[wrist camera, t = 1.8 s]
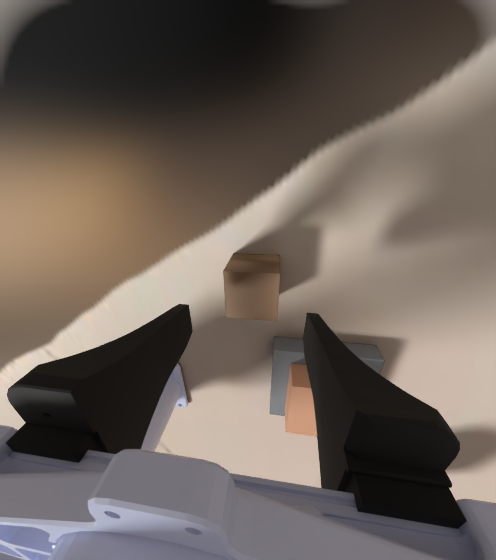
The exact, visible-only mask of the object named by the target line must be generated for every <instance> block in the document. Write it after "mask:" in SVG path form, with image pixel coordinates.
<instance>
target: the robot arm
mask: <svg viewBox="0 0 496 560" xmlns="http://www.w3.org/2000/svg"><path fill="white" fill-rule="evenodd" d="M192 331H193V330H192V324H191V317H190V311H189V305H185V304H179V305H177V306H175V307H173V308H172V309H170V310H168V311H167V312H165V313H164V314H162V315H160V316H159V317H157V318H155V319H154V320H152V321H150V322H149V323H147V324H145V325H143V326H142V327H140V328H138V329H136V330H135V331H133V332H131V333H129V334H127V335H125V336H122V337H120V338H118V339H116V340H114V341H111V342H109V343H106V344H104V345H101V346H99V347H96V348H94V349H91V350H88V351H85V352H82V353H79V354H76V355H73V356H69V357H66V358H62V359H59V360H55V361H51V362H48V363H44V364H40V365H38V366H36V367H35V368H34V369H33V370H31V371H30V372H29V373H28V374H26V375H25V376H24V377H23V378H21V379H20V380H19V381H17V382H16V383H15V384H14V385H12V386H11V387H10V388H9V389H8V393H7V397H8V400H9V402H10V403H11V405H12V406H13V407H14V409H15V410H16V411H17V412H18V414H19V415H20V416H21V417H22V419H23V420H24V421H25V422H26V423H25V424H24V425H23V426H22V427H21V428H20V429H19V430H17V429H15V428H13V427H9V426H3V425H0V560H496V503H491V502H485V501H478V500H472V499H461V500H457V501H456V500H455V499H454V497H453V495H452V493H451V491H450V489H449V488H451V487H452V483H451V481H450V479H449V477H448V475H447V474H446V472H445V470H446V468H447V467H448V466H449V465H450V464H451V462H452V461H453V460H454V459H455V458H456V456H457V454H458V452H459V450H460V443H459V441H458V439H457V438H456V436H455V435H454V433H453V432H452V430H451V429H450V427H449V426H448V424H447V423H446V421H445V420H444V419H443V417H442V416H441V414H440V413H439V412H438V411H437V410H436V409H434V408H433V407H431V406H429V405H427V404H426V403H424V402H422V401H420V400H419V399H417V398H415V397H413V396H412V395H410V394H408V393H407V392H405V391H403V390H402V389H400V388H399V387H397V386H396V385H394V384H393V383H391V382H390V381H388V380H387V379H385V378H384V377H382V376H381V375H380V374H378V373H377V372H376V371H374V370H373V369H372V368H370V367H369V366H368V365H367V364H365V363H364V362H363V361H362V360H361V359H359V358H358V357H357V356H356V355H355V354H354V353H353V352H352V351H350V350H349V349H348V348H347V347H346V346H345V345H344V344H343V343H342V342H341V341H340V339H339V338H338V337H337V336H336V335H335V334H334V333H333V332H332V330H331V329H330V328H329V327H328V326H327V324H326V323H325V322H324V321H323V319H322V318H321V317H320V316H319V314H316V313H307V316H306V323H305V330H304V337H303V346H304V356H305V361H306V366H307V371H308V376H309V380H310V385H311V390H312V395H313V401H314V410H315V419H316V429H317V439H318V450H319V461H320V474H321V486H322V488H316V487H311V486H305V485H299V484H293V483H287V482H280V481H274V480H268V479H262V478H256V477H250V476H244V475H238V474H232V473H229V472H228V470H226V469H224V468H223V467H221V466H220V465H218V464H216V463H213V462H210V461H206V460H203V459H197V458H190V457H184V456H178V455H171V454H165V453H159V452H155V449H156V447H157V445H158V443H159V440H160V438H161V436H162V434H163V432H164V429H165V427H166V425H167V423H168V420H169V418H170V416H171V414H172V412H173V409H174V407H182V408H186V407H187V406H188V401H187V396H186V391H185V386H184V381H183V376H182V372H181V367H180V365H179V364H177V363H178V361H179V359H180V357H181V356H182V354H183V352H184V350H185V348H186V346H187V344H188V342H189V339H190V337H191V334H192Z"/></svg>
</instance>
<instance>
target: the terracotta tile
mask: <svg viewBox="0 0 496 560" xmlns="http://www.w3.org/2000/svg"><path fill="white" fill-rule="evenodd" d="M285 426H286V432H288V433H296V434H303V435H310V436H317V429H316V419H315V410H314V401H313V395H312V390H311V385H310V380H309V376H308V371H307V366H306V365H300V364H291V365H290V372H289V380H288V388H287V396H286V403H285Z"/></svg>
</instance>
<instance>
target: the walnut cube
mask: <svg viewBox="0 0 496 560" xmlns="http://www.w3.org/2000/svg"><path fill="white" fill-rule="evenodd" d="M223 274H224V290H225V306H226V317H227V318H241V319H255V320H270V321H277V314H278V299H279V285H280V255H264V254H236V253H233V255H232V257H231V259H230V260H229V262H228V264H227V266H226V267H225V269H224V271H223Z"/></svg>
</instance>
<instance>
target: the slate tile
mask: <svg viewBox="0 0 496 560" xmlns="http://www.w3.org/2000/svg"><path fill="white" fill-rule="evenodd" d="M342 343H343V342H342ZM343 344H344V345H345V346H346V347H347V348H348V349H349V350H350V351H352V352H353V353H354V354H355V355H356V356H357V357H358V358H359V359H361V360H362V361H363V362H364V363H365V364H367V365H368V366H369V367H370V368H372V369H373V370H374V371H376V372H377V373H378V374H380V371H381V369H382V366H383V364H384V361H385V360H384V358H383V356H382V355H381V353H380V351H379V349H378V348H377V346H376V345H367V344H355V343H343ZM291 364H300V365H306V361H305V356H304V346H303V339H294V338H282V337H274V349H273V364H272V379H271V394H270V414H273V415H281V416H285V403H286V396H287V388H288V380H289V372H290V365H291Z"/></svg>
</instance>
